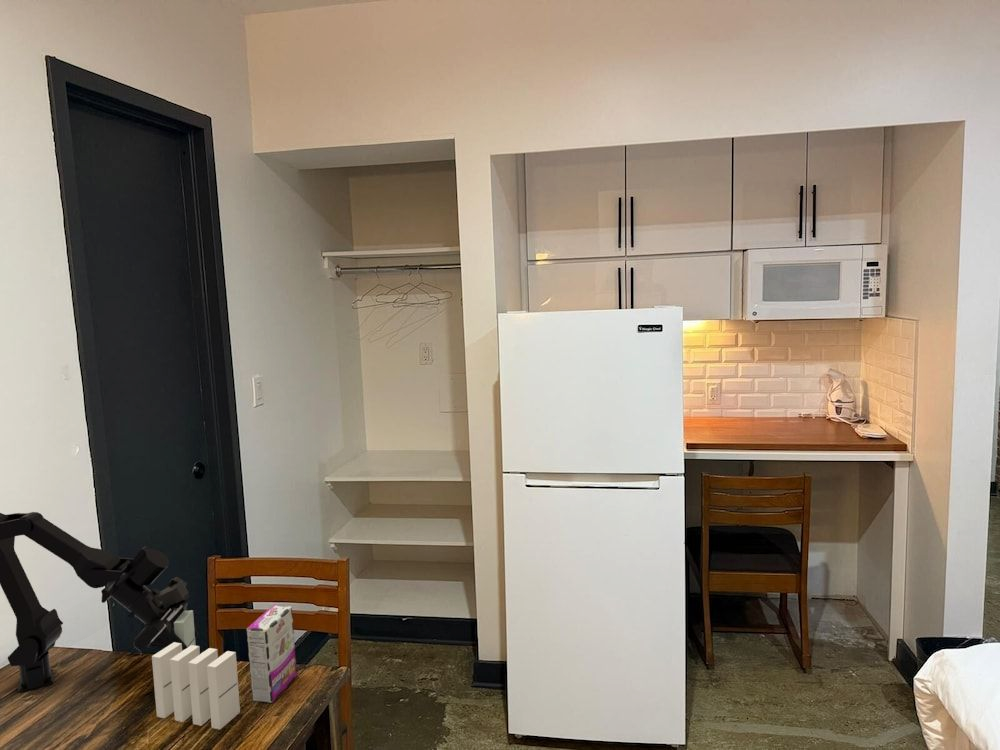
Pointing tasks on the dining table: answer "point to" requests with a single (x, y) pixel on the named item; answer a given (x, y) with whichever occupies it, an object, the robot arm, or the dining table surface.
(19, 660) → the robot arm
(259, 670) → the candy bar box
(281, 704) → the dining table surface
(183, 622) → the sage domino
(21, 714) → the dining table surface
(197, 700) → the ivory domino
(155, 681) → the ivory domino
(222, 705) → the ivory domino
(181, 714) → the ivory domino
